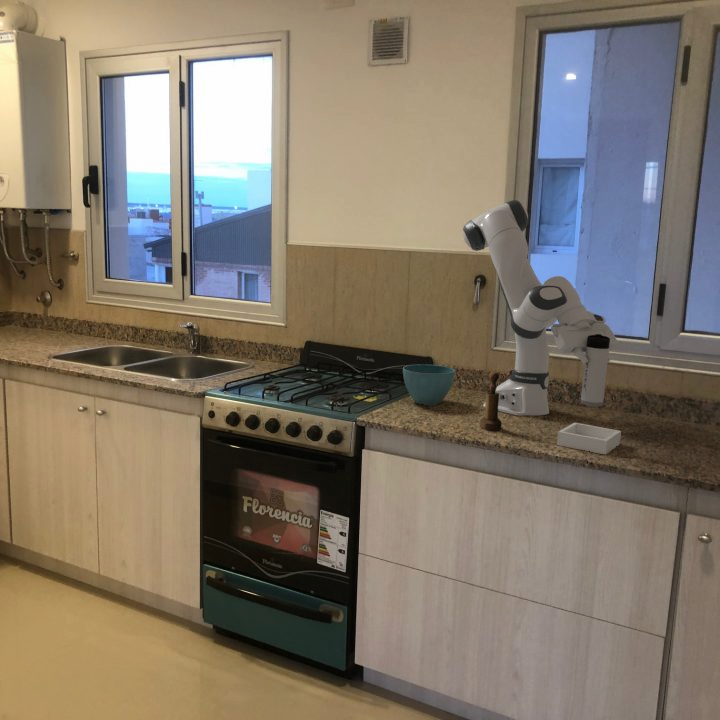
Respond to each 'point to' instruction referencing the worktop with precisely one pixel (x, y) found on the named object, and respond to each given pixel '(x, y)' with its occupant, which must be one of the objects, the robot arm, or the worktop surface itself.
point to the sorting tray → (589, 438)
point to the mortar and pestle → (491, 406)
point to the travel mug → (595, 370)
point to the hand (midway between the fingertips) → (597, 362)
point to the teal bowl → (428, 382)
